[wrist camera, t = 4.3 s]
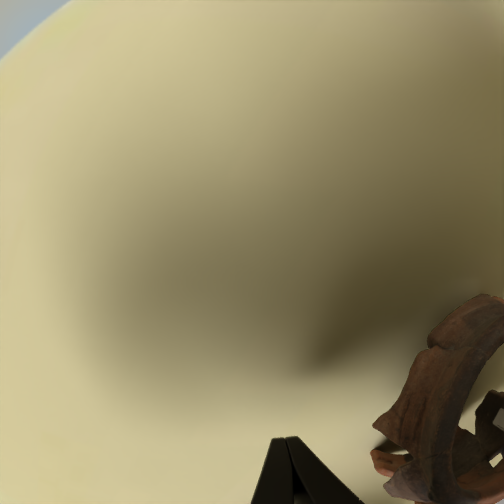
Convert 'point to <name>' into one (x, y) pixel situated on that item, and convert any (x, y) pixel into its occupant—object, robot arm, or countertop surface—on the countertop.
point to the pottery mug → (448, 415)
